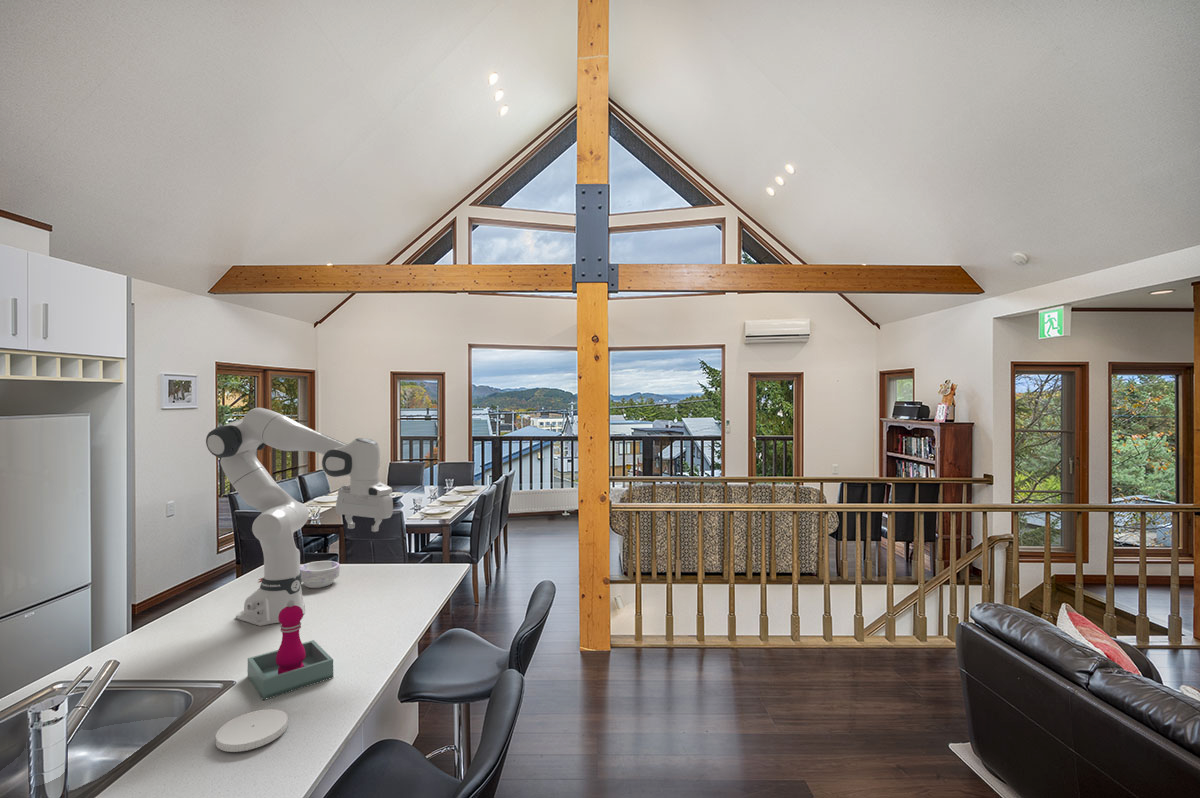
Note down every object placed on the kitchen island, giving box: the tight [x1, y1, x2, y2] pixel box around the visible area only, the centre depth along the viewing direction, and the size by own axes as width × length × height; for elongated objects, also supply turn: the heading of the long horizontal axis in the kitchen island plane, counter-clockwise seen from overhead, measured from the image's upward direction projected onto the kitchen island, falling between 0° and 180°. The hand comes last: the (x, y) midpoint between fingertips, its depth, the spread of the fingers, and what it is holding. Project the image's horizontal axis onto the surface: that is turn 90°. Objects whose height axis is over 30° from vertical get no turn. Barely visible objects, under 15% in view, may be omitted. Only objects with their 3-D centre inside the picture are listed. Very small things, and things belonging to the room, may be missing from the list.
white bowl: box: [300, 560, 341, 589], centre depth 233 cm, size 15×15×8 cm
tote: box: [247, 639, 334, 700], centre depth 156 cm, size 17×17×5 cm
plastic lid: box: [215, 708, 289, 753], centre depth 129 cm, size 14×14×2 cm
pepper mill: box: [276, 601, 306, 674], centre depth 156 cm, size 7×7×20 cm
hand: (363, 529), depth 187 cm, fingers open, 8 cm apart
